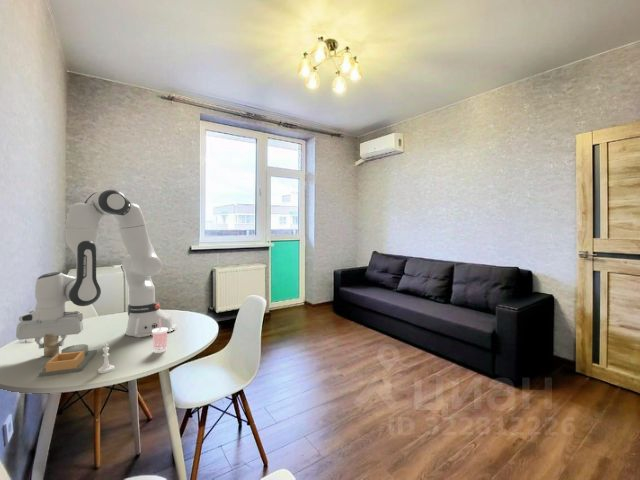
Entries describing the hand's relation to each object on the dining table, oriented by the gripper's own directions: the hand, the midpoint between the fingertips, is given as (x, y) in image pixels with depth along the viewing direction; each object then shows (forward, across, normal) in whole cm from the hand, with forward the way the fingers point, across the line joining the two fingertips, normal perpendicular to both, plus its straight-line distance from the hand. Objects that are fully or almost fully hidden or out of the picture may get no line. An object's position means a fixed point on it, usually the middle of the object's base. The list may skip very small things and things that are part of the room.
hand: (51, 346), depth 118 cm
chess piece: (+3, -24, +23) cm, 33 cm away
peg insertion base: (+3, -10, +12) cm, 16 cm away
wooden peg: (+3, 0, 0) cm, 3 cm away
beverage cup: (+3, -40, +11) cm, 42 cm away
